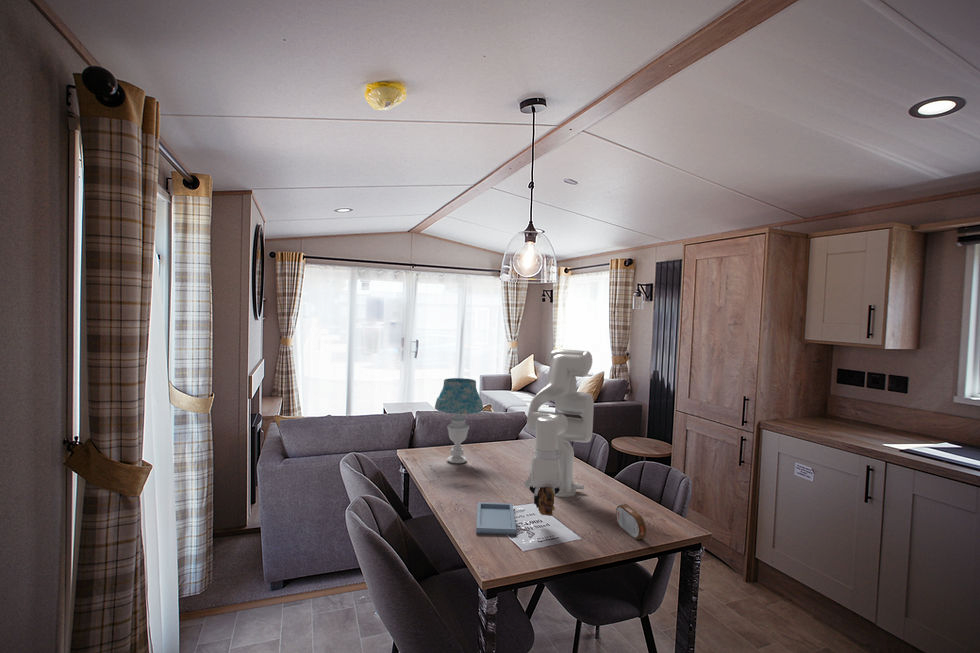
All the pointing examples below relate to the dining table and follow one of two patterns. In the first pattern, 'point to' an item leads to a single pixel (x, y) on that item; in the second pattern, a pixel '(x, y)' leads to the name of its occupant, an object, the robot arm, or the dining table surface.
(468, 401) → the table lamp
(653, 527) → the dining table surface
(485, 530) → the tray
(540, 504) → the wooden carving
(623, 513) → the tin
